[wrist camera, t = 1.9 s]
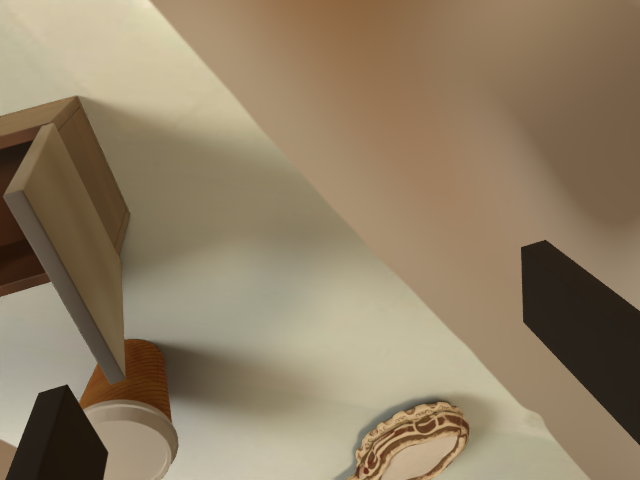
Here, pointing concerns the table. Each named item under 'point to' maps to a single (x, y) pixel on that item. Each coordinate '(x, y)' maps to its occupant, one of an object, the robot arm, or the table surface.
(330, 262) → the table surface
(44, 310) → the table surface
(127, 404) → the disposable coffee cup
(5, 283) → the box
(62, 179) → the lid
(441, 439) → the hand mirror
